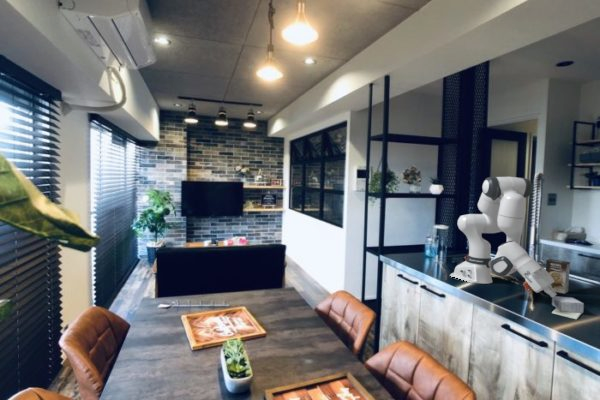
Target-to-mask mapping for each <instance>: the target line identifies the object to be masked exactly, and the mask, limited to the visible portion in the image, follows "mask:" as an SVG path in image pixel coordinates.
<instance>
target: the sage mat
mask: <svg viewBox="0 0 600 400" xmlns="http://www.w3.org/2000/svg"><path fill="white" fill-rule="evenodd" d="M551 314H554V315H558V316H561V317H566V318H569V319H572V320H573V319H574V320H578V319H579V317H580V316H581V315H582V314H583V313H578V312H564V311H560V310H559V309H557V308H556V307H555V309H553V311H552V312H551Z"/></svg>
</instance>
